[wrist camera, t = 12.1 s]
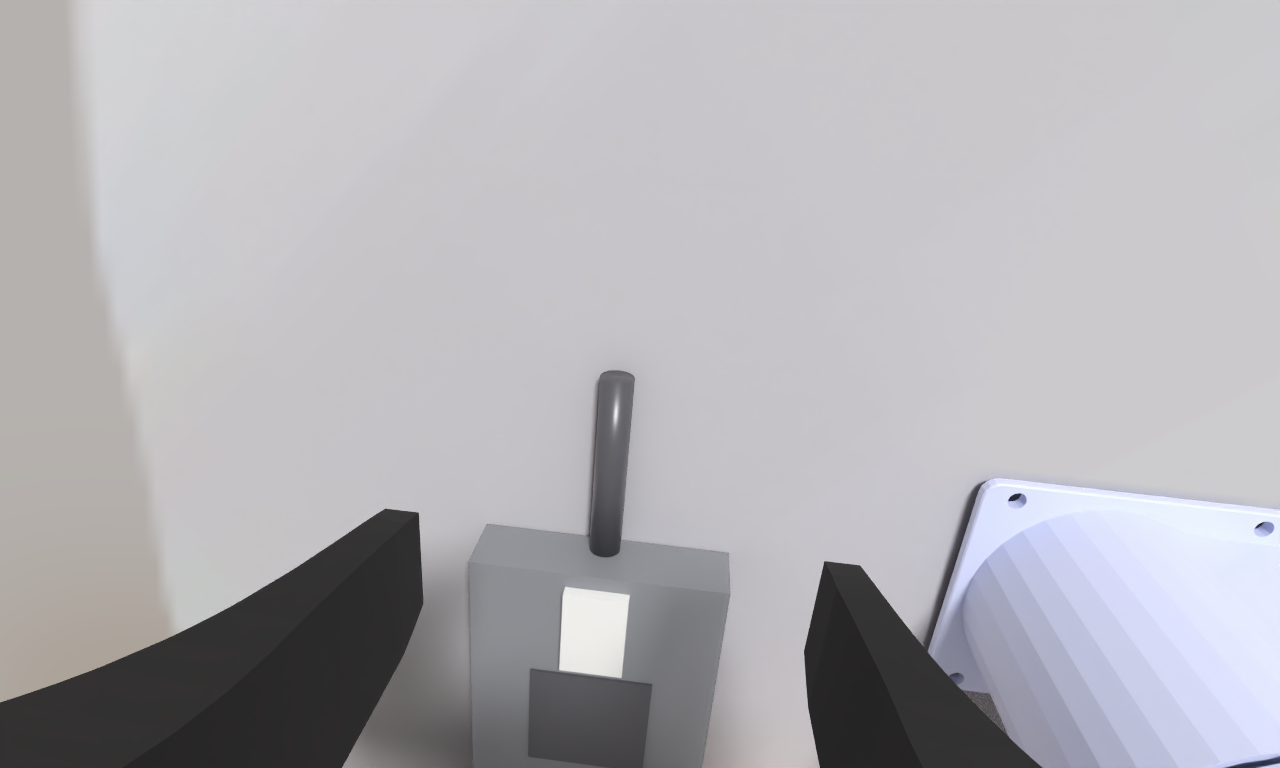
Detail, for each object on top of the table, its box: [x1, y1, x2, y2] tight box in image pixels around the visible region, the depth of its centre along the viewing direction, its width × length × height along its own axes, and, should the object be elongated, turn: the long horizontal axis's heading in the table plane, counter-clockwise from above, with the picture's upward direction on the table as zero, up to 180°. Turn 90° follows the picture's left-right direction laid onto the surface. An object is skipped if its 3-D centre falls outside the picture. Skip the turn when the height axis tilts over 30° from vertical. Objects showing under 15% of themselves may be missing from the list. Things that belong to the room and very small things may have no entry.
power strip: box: [469, 371, 730, 768], centre depth 25 cm, size 8×24×2 cm, turn 175°
